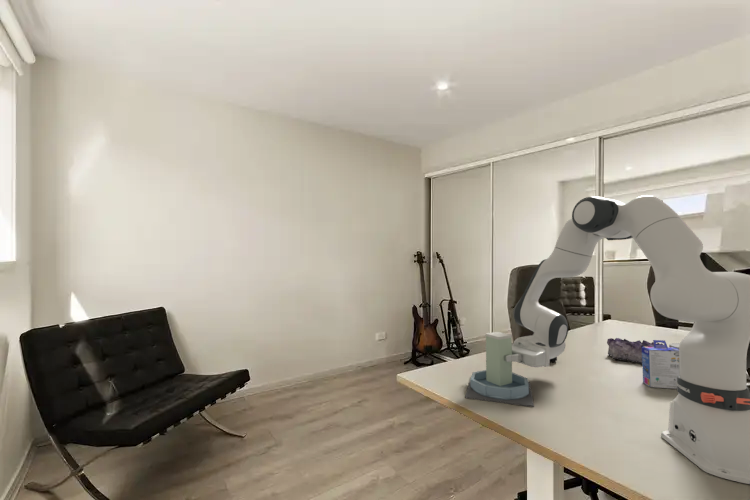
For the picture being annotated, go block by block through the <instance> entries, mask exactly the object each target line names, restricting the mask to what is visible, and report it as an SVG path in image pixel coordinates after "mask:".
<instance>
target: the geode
mask: <svg viewBox="0 0 750 500" xmlns="http://www.w3.org/2000/svg"><path fill="white" fill-rule="evenodd" d="M606 344H607V346H608V351H607V355H609V356H610V357H611V358H613V359H614V360H621V361H629V362H632V363H637V364H641V365H642V347H654V343H653V341H652V342H649V341H647V340H645V339H644V340H643V339H642V342H641V340H636V341H630V340H628V339H626V338H619V337H616V338H611V337H610V338H607V341H606ZM656 344H657V345H664V343H661V342H658V343H656Z"/></svg>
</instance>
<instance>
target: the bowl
mask: <svg viewBox="0 0 750 500" xmlns="http://www.w3.org/2000/svg"><path fill="white" fill-rule="evenodd" d="M471 373H472V375H470V376H471V377H470V379H471V388H472V389H473V390H474V391H475V392H476V393H478V394H480V395H483V396H486V397H490V398H494V399H502V400H515V399H521V398H524V397H526V396H527V395H528V394H529V385H528V382H529V379H528V377H525V376H523V375H520V374H518V373H515V372H513V371H512V383H510V384H506V385H502V386H498V385H496V384H493V383H491V382H489V381H486V369H484V370H477V371H473V372H471Z"/></svg>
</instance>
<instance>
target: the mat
mask: <svg viewBox="0 0 750 500" xmlns="http://www.w3.org/2000/svg"><path fill="white" fill-rule="evenodd" d="M528 385H529V394H528V395H527V396H526V397H524V398H521V399H515V400H502V399H494V398H490V397H486V396H483V395H480V394H478V393H476V392H475V391H474V390H473V389H472V388H471V378H470V379H469V383H468V386H467V390H466V392H465V394H464V395H465V396H464V398H465V399H470V400H478V401H485V402H493V403H499V404H506V405H507V404H508V405H514V406H522V407H531V408H534V407H535V405H534V399H533V392H532V387H531V386H532V385H531V381H528Z"/></svg>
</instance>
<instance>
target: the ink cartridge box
mask: <svg viewBox="0 0 750 500" xmlns="http://www.w3.org/2000/svg"><path fill="white" fill-rule="evenodd" d="M652 342H653V343H654V347H642V364H641V366H642V367H641V368H642V383H643V384H645V385H647V387H648V388H659V389H662V388H663V389H672V390H673V389H676V390H677V384H676V381H677V376H678V375H679V349H677V348H674V347H669V346H668V345H667V344H668V343H667V342H666V340H664V339H663V340H661V339H660V340H659V339H658V340H657V339H653V340H652ZM657 343H660V344H661V343H662V344H663V345H657Z"/></svg>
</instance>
